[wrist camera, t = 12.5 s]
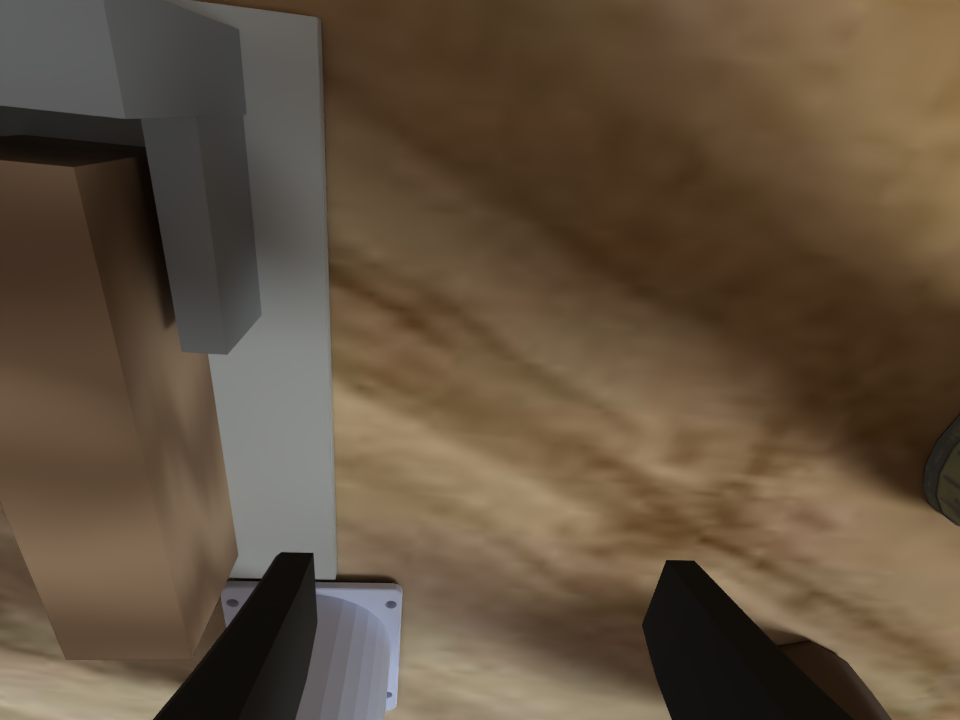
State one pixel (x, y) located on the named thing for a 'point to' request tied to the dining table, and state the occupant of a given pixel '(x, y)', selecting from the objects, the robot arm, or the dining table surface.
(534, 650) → the dining table surface
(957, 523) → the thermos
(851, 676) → the beer bottle
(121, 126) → the post bracket
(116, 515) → the rail
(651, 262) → the dining table surface
